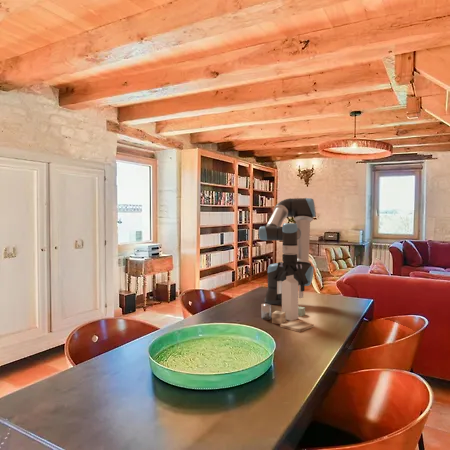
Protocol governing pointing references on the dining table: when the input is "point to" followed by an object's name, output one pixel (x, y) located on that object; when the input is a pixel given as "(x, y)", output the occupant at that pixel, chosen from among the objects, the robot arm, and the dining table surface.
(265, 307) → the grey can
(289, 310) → the milk
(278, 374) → the dining table surface
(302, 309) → the sage block
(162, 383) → the dining table surface
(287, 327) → the plate
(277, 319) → the beech cube
